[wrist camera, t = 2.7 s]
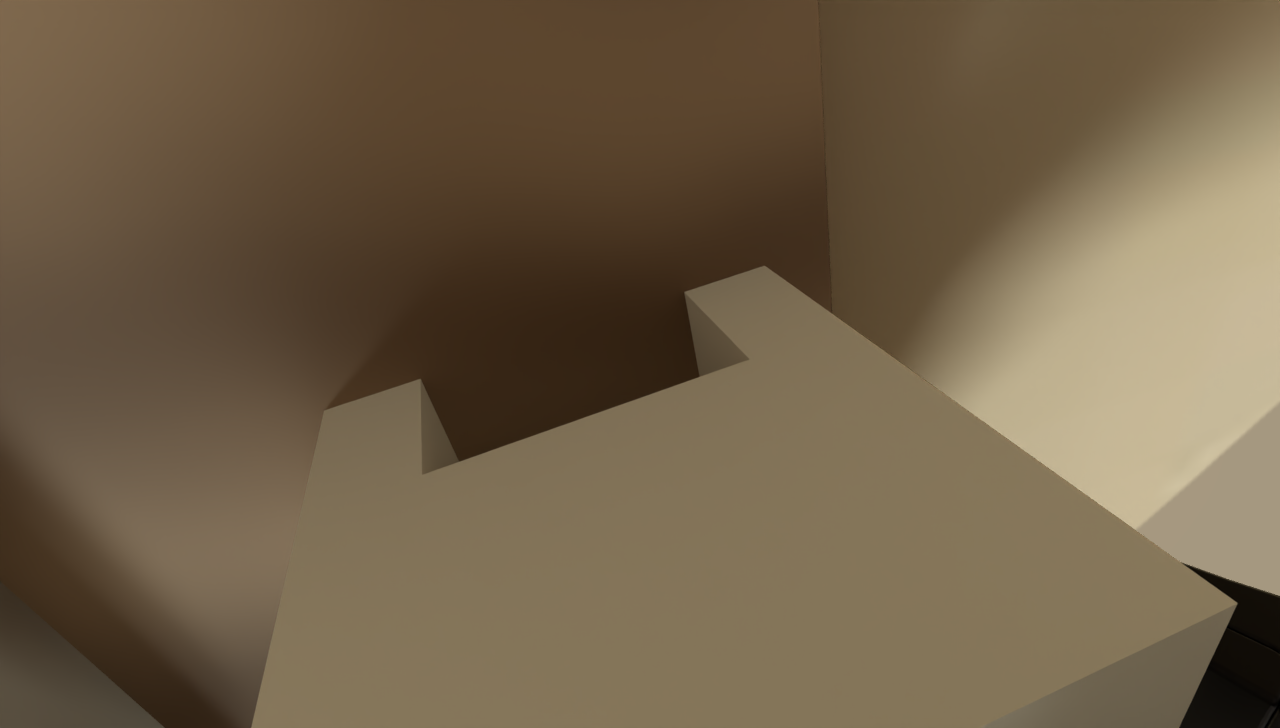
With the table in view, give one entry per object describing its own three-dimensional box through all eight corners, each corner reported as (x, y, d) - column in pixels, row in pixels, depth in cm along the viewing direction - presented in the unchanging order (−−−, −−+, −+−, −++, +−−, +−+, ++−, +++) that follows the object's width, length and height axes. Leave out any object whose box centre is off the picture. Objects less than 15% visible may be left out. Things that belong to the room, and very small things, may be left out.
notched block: (801, 621, 13) (1047, 1007, 8) (517, 744, 12) (591, 1269, 7) (764, 266, 9) (1237, 604, 4) (323, 410, 8) (159, 1123, 3)
